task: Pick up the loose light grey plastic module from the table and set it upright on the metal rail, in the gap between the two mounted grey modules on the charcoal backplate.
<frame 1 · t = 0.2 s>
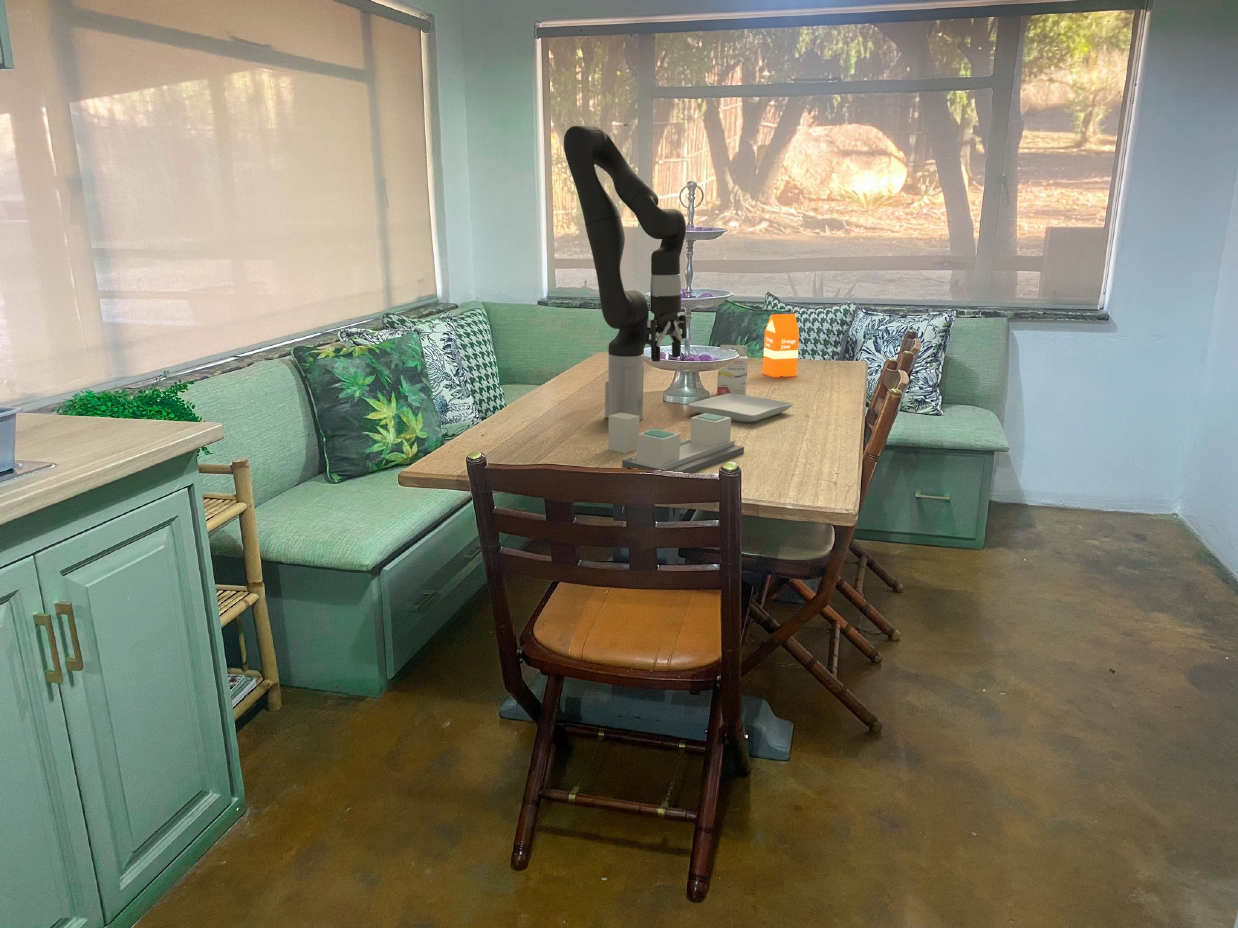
hand: (666, 359, 225), 18 cm above the table, tool pointing down, fingers open, 8 cm apart
salad plate: (740, 415, 245), on the table
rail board: (684, 459, 201), on the table
orange juice: (779, 375, 300), on the table
loose module: (623, 449, 209), on the table
ink cartridge box: (731, 395, 268), on the table
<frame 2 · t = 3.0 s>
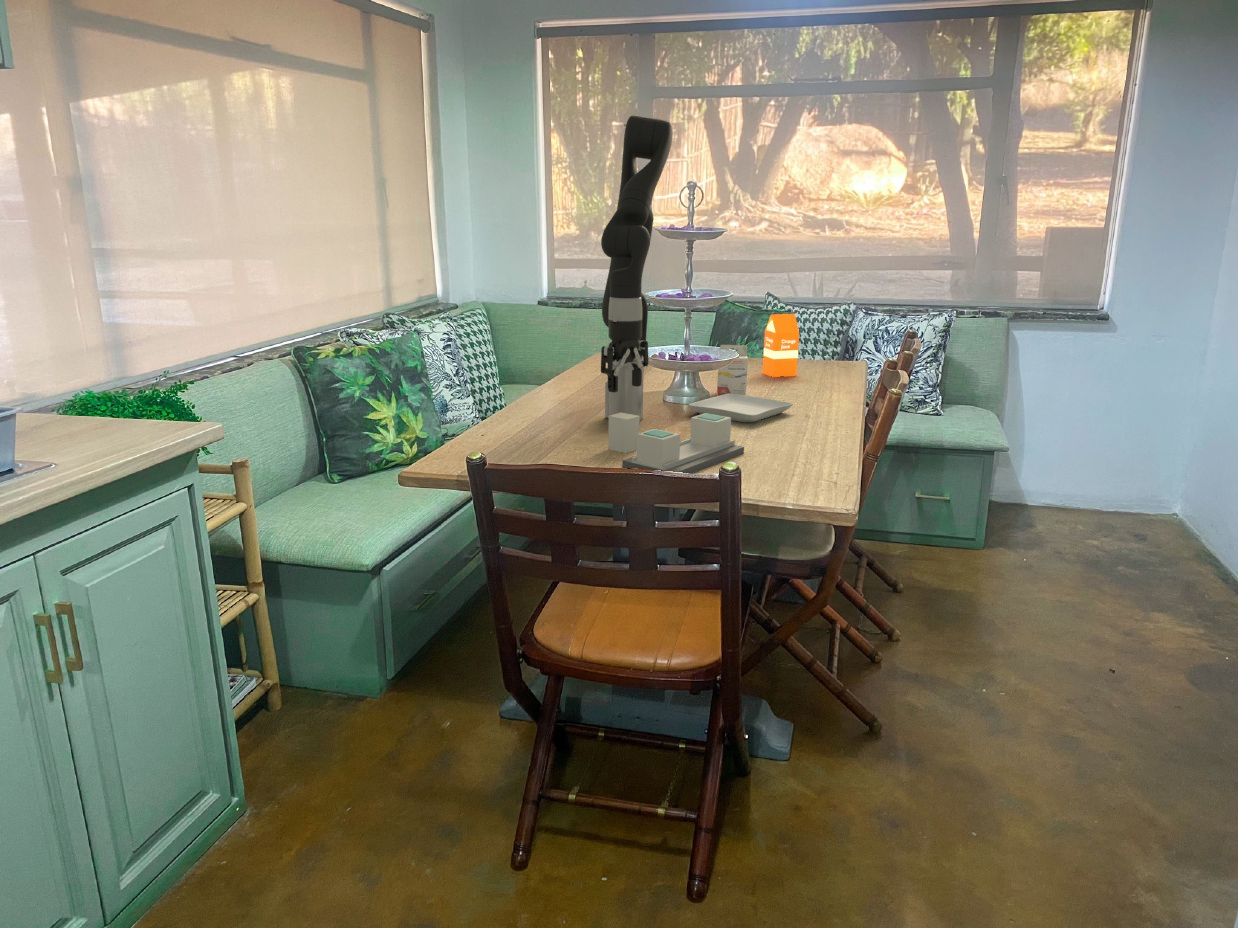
hand: (624, 389, 205), 14 cm above the table, tool pointing down, fingers open, 8 cm apart
nothing on the table moved.
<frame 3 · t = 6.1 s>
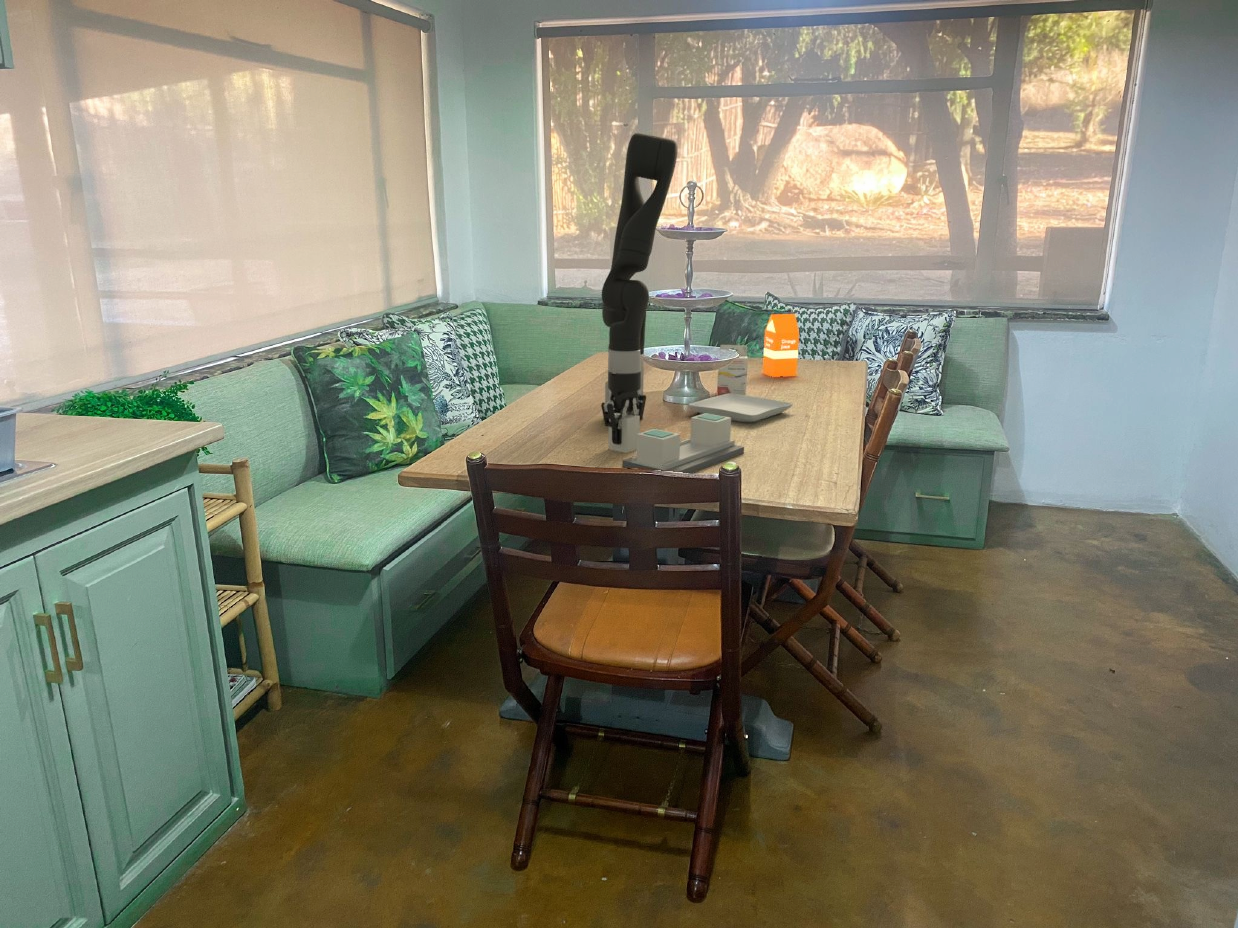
hand: (623, 441, 208), 2 cm above the table, tool pointing down, fingers closed on loose module, 4 cm apart
loose module: (623, 449, 209), on the table, touching gripper
everything else where it was.
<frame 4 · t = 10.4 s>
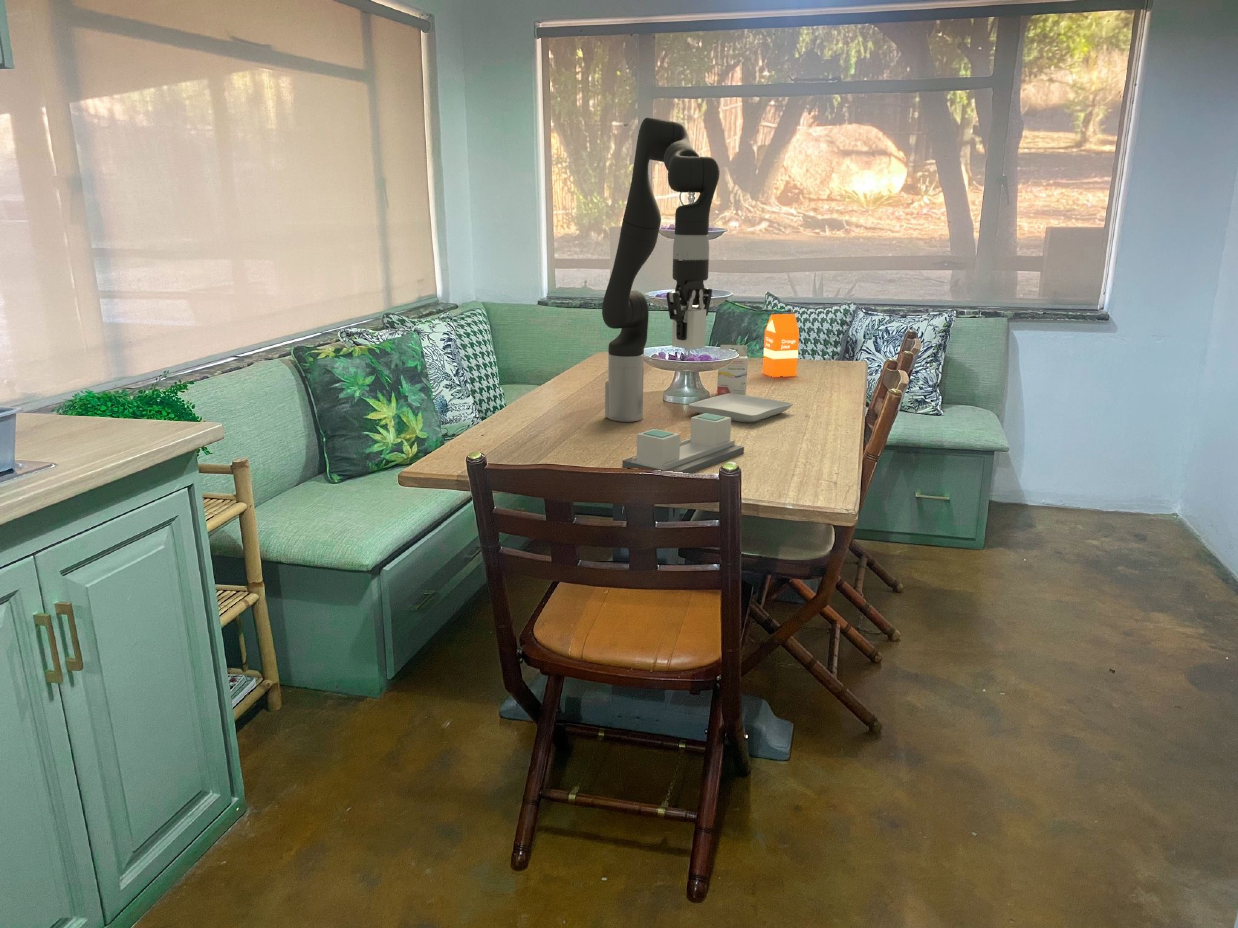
hand: (688, 338, 193), 27 cm above the table, tool pointing down, fingers closed on loose module, 4 cm apart
loose module: (688, 346, 193), point 25 cm above the table, touching gripper
everything else where it was.
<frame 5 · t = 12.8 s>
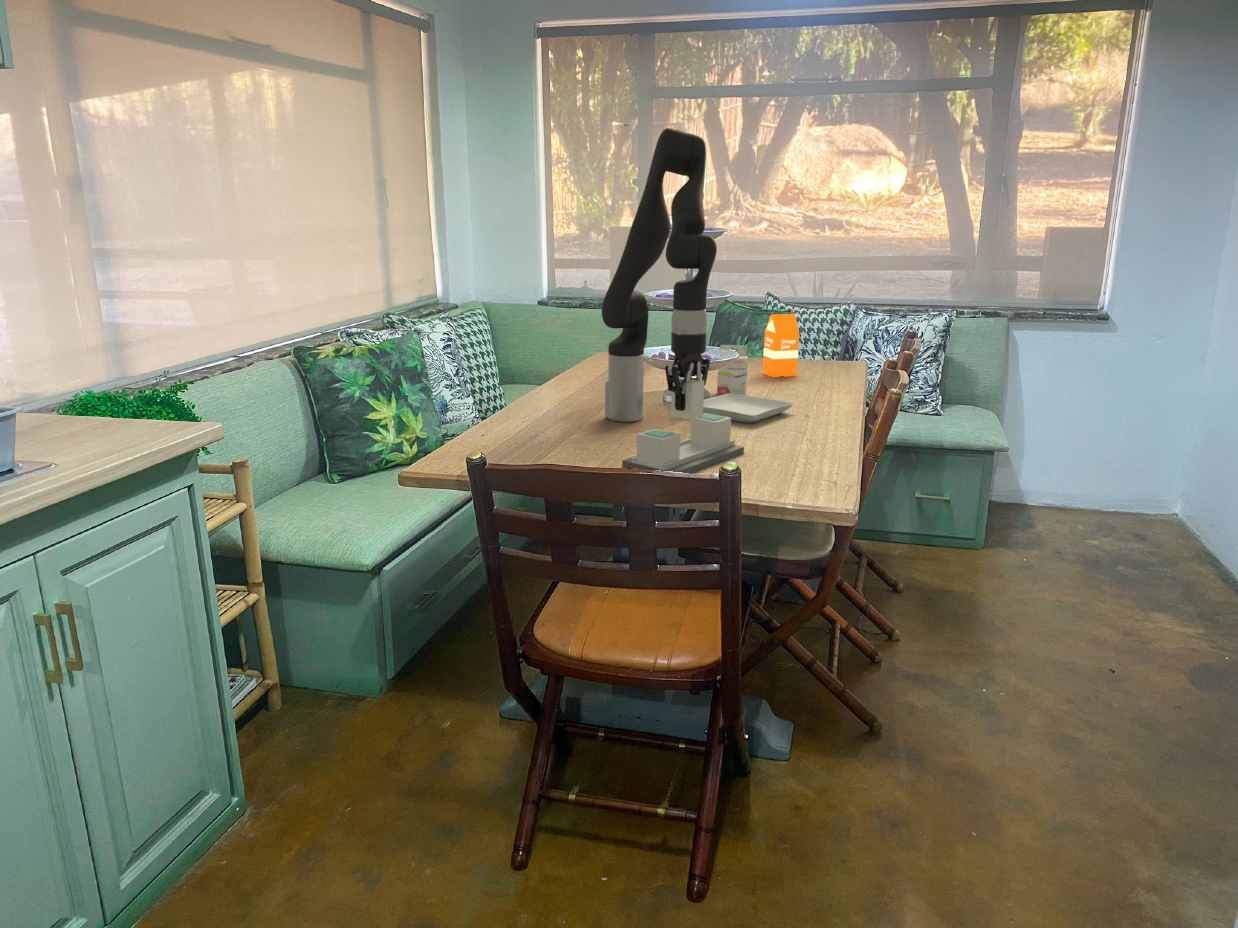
hand: (686, 407, 197), 12 cm above the table, tool pointing down, fingers closed on loose module, 4 cm apart
loose module: (686, 416, 198), point 10 cm above the table, touching gripper
everything else where it was.
when the fingers open (5 cm above the table, at t = 14.9 s): loose module drops 2 cm, resting on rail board.
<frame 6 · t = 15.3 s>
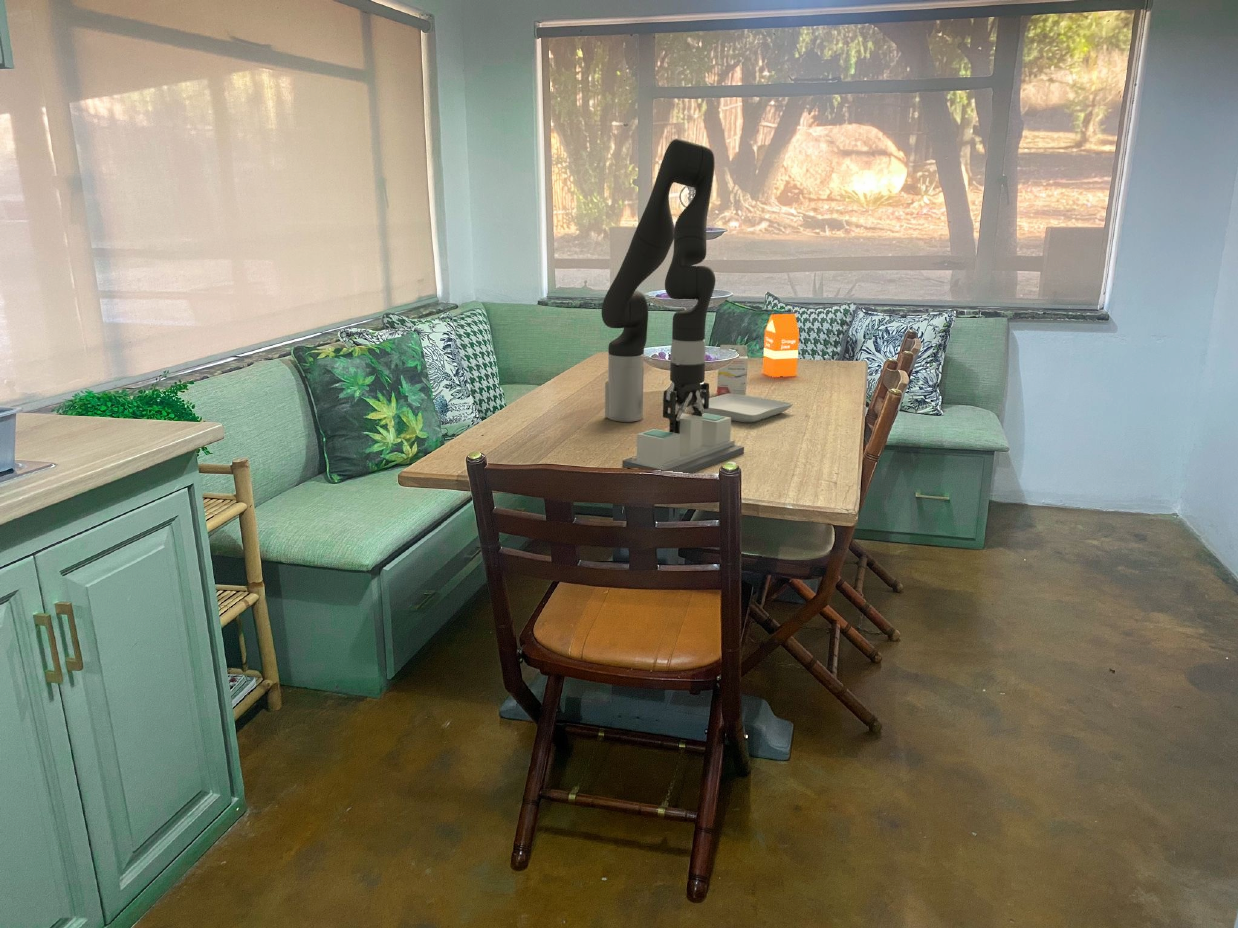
hand: (685, 432, 199), 6 cm above the table, tool pointing down, fingers open, 8 cm apart
loose module: (685, 451, 200), point 2 cm above the table, touching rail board
everything else where it was.
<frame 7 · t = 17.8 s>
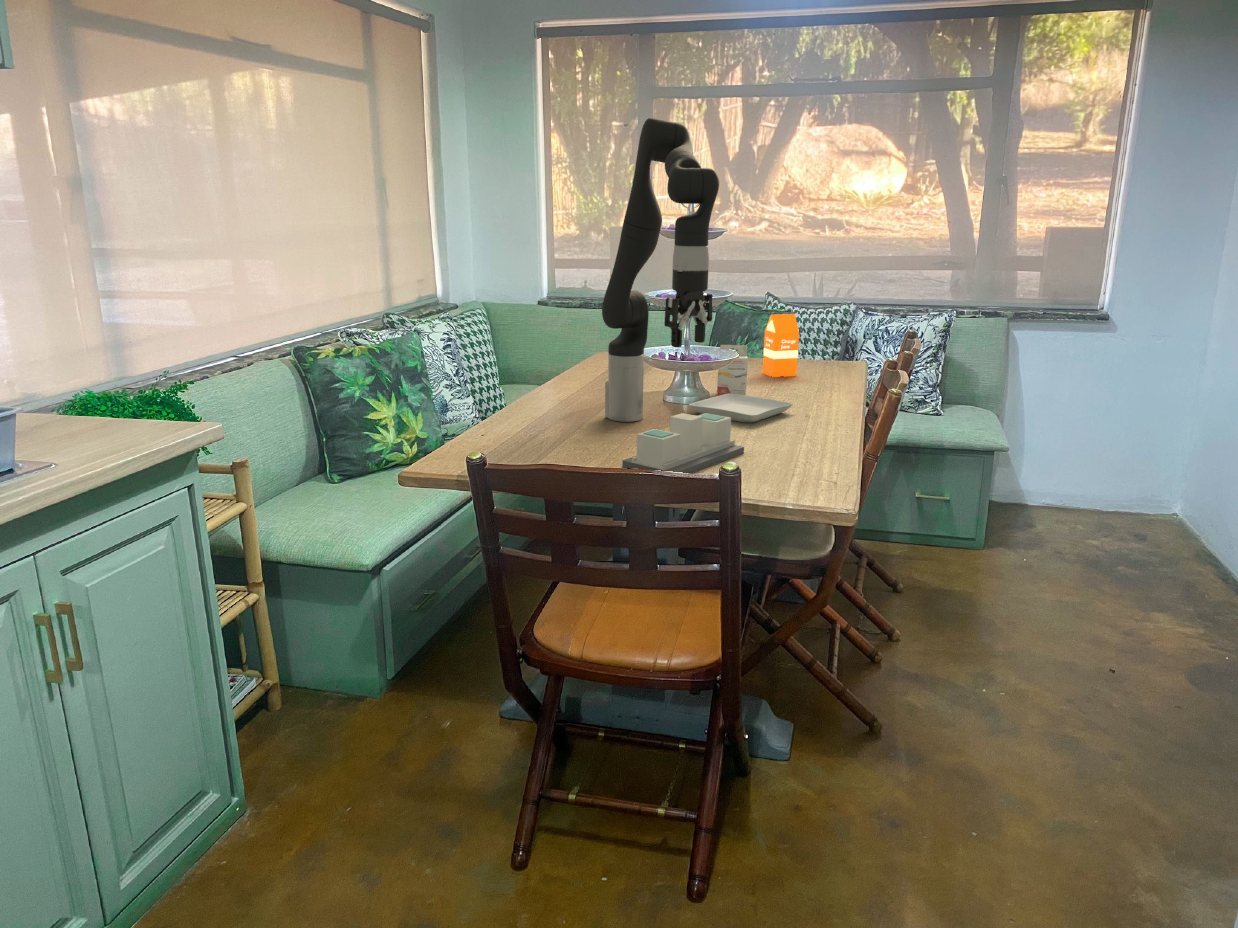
hand: (688, 344, 193), 26 cm above the table, tool pointing down, fingers open, 8 cm apart
nothing on the table moved.
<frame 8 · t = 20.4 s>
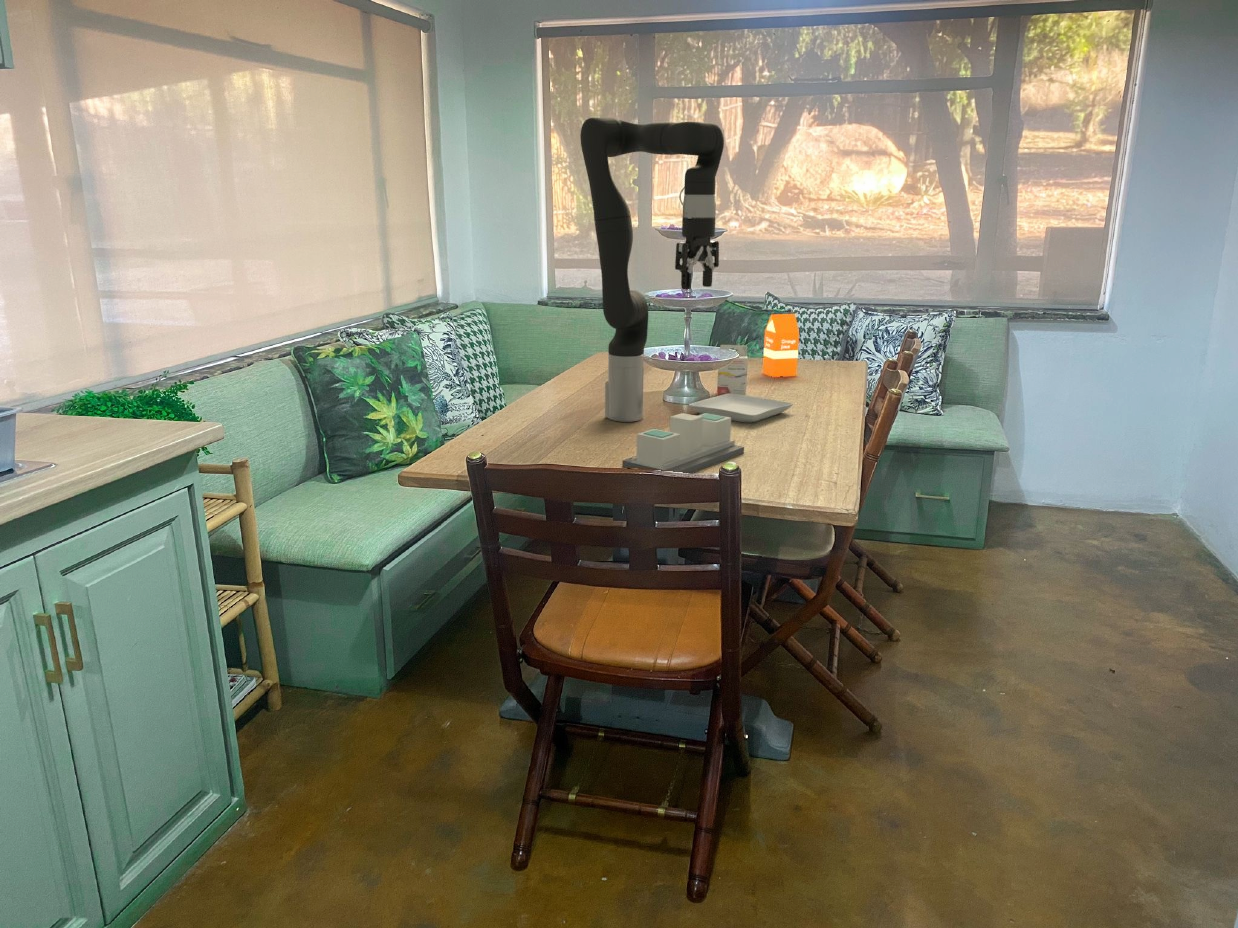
hand: (696, 288, 209), 36 cm above the table, tool pointing down, fingers open, 8 cm apart
nothing on the table moved.
at the end: loose module 0.1 cm off-centre on the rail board, point 1.9 cm above the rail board's base; loose module tilted 0°; the gripper is holding nothing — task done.
